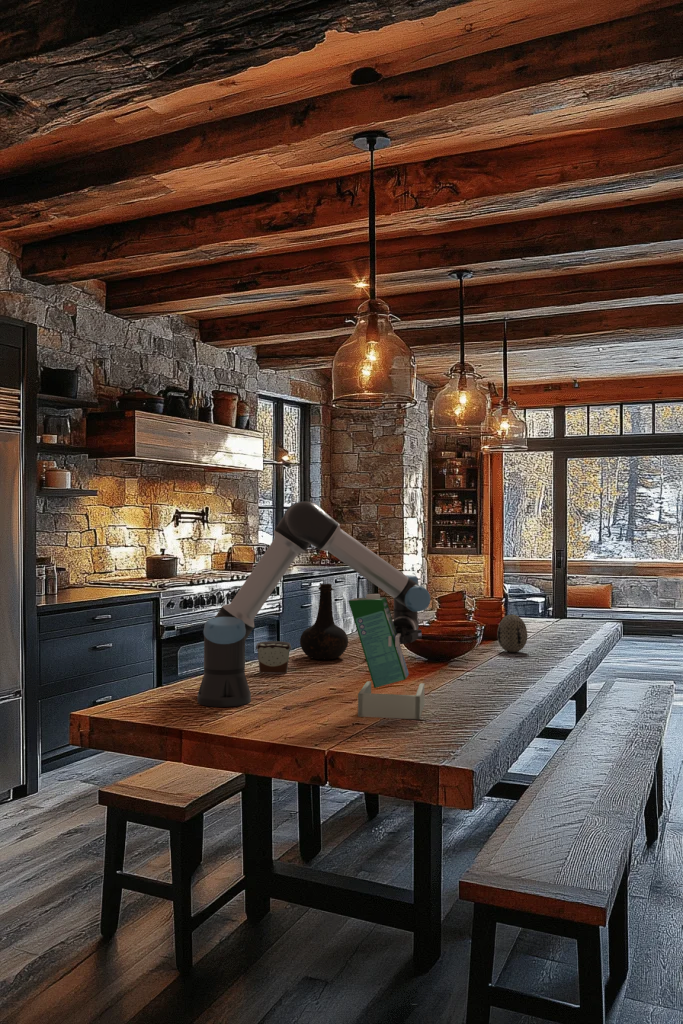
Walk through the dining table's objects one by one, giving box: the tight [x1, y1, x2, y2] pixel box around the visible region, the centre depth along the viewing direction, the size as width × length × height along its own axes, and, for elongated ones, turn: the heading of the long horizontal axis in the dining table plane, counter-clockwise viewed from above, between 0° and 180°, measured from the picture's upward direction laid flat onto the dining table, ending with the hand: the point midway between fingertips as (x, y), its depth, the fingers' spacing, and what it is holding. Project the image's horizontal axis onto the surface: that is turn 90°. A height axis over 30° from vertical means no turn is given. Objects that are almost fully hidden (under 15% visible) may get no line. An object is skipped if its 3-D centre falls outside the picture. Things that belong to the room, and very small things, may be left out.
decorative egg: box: [496, 613, 528, 653], centre depth 327 cm, size 12×12×15 cm
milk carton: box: [348, 593, 410, 689], centre depth 231 cm, size 9×9×25 cm
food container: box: [255, 640, 292, 674], centre depth 283 cm, size 12×6×10 cm, turn 84°
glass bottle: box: [299, 583, 349, 661], centre depth 311 cm, size 18×18×28 cm
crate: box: [357, 680, 425, 720], centre depth 227 cm, size 17×16×6 cm
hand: (393, 641), depth 225 cm, fingers closed on milk carton
